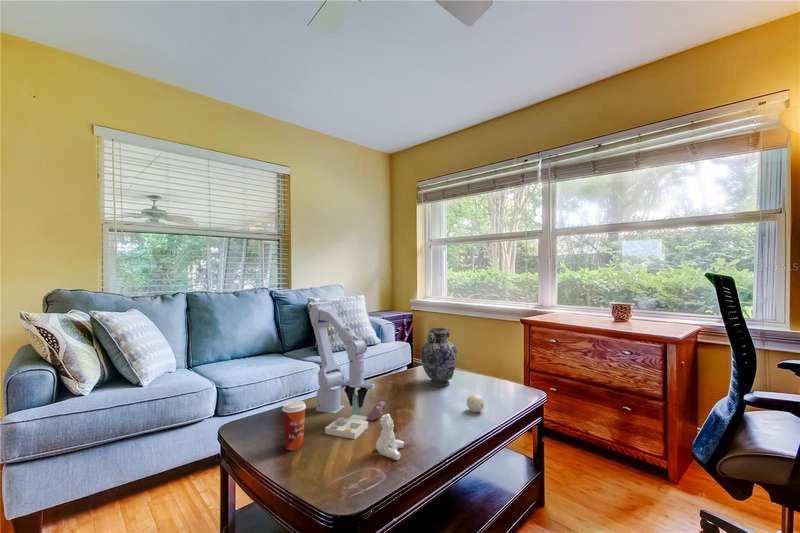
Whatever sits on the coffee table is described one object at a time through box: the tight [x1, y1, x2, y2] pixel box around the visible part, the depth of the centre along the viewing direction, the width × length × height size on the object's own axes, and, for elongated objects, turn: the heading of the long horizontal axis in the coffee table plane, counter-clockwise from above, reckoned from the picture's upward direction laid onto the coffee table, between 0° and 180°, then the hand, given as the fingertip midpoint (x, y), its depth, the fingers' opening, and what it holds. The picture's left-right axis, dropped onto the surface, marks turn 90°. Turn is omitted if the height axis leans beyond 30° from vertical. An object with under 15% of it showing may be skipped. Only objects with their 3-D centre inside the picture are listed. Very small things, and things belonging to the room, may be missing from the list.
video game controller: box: [366, 400, 387, 421], centre depth 139 cm, size 10×5×7 cm, turn 168°
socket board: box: [324, 416, 369, 440], centre depth 127 cm, size 12×10×3 cm
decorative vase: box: [420, 327, 458, 388], centre depth 180 cm, size 21×19×28 cm
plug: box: [351, 393, 362, 415], centre depth 136 cm, size 3×3×7 cm
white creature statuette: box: [375, 413, 405, 461], centre depth 112 cm, size 10×9×12 cm
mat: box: [349, 414, 368, 421], centre depth 136 cm, size 7×7×1 cm
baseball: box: [466, 394, 485, 413], centre depth 143 cm, size 7×7×7 cm
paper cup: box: [281, 399, 307, 451], centre depth 116 cm, size 8×8×14 cm
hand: (356, 406), depth 136 cm, fingers closed on plug, 3 cm apart
